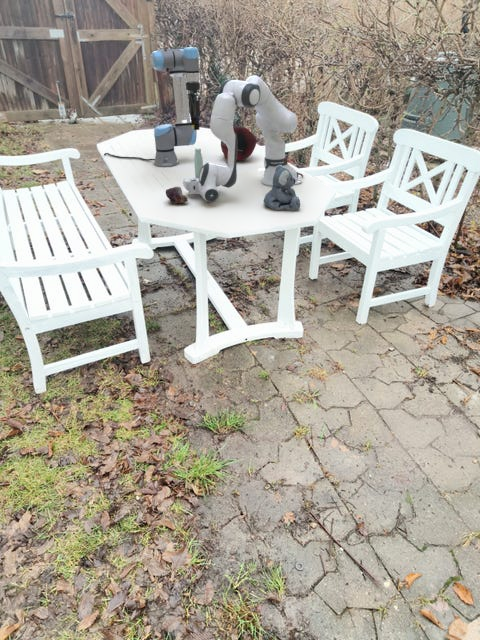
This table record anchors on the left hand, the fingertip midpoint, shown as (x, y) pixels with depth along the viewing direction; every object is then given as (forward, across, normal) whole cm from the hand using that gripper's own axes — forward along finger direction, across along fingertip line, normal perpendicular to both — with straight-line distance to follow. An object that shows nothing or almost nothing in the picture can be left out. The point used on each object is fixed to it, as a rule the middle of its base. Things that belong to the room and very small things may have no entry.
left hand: (195, 128), depth 249 cm
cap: (-1, 0, 0) cm, 1 cm away
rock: (+29, +31, -23) cm, 48 cm away
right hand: (+22, +16, -5) cm, 28 cm away
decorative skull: (+28, -33, +39) cm, 58 cm away
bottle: (+29, +17, -5) cm, 34 cm away
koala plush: (+29, +58, +24) cm, 69 cm away
